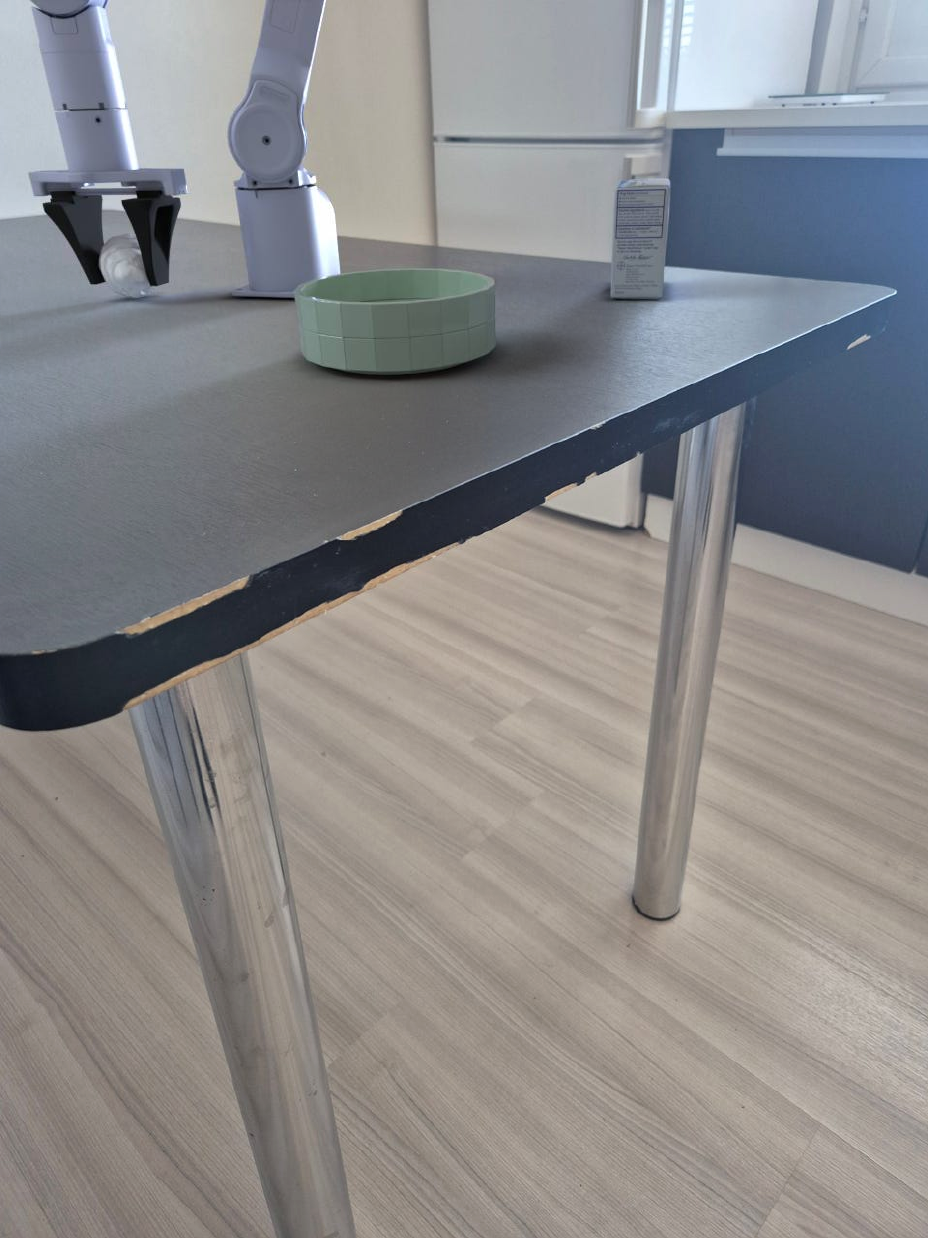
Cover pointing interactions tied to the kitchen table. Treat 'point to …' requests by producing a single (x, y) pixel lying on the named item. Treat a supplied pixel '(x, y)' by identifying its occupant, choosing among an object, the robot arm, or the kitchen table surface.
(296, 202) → the robot arm
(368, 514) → the kitchen table surface
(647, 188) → the medicine box
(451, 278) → the bowl
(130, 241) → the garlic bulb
